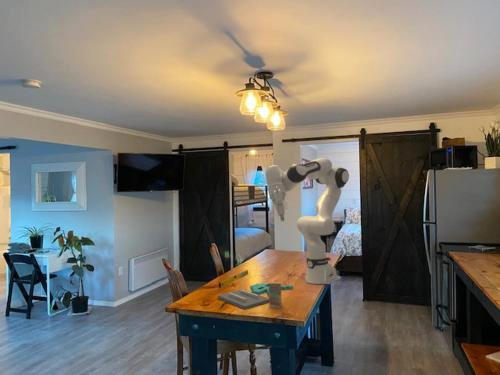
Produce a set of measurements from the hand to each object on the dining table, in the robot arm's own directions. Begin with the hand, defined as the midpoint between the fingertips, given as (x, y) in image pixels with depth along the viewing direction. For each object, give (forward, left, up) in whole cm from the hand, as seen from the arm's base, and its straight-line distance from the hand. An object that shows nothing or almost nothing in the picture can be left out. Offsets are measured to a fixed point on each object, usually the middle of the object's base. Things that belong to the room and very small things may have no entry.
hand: (282, 217), depth 184 cm
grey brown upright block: (+10, +4, -42) cm, 43 cm away
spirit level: (-3, -50, -42) cm, 66 cm away
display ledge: (+16, -14, -42) cm, 47 cm away
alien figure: (-4, -18, -43) cm, 47 cm away
